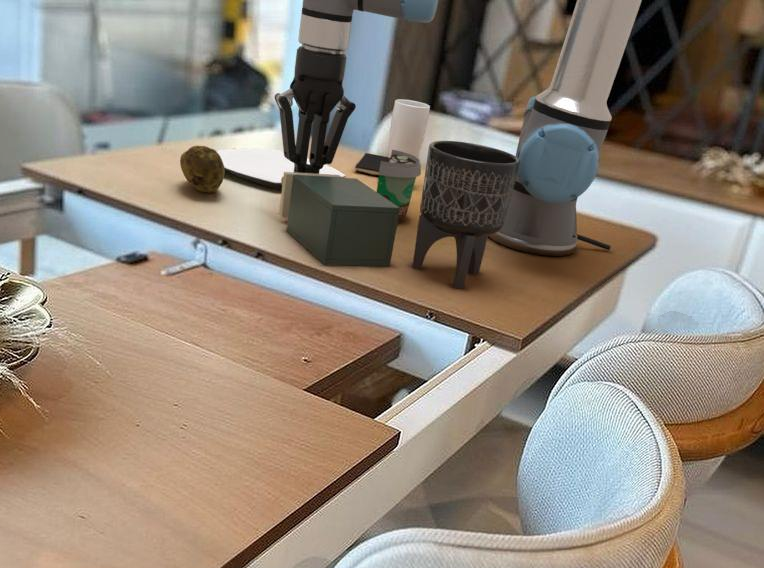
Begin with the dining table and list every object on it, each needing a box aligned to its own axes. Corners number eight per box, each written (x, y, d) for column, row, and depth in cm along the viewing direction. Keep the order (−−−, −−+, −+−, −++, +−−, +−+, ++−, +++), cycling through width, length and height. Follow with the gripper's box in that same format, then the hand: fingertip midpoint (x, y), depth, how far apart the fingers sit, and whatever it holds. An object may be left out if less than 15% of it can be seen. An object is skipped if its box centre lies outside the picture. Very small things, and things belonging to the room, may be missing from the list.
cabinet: (286, 231, 156) (293, 174, 152) (348, 233, 161) (356, 178, 156) (324, 265, 145) (332, 204, 140) (390, 266, 149) (400, 207, 145)
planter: (395, 275, 146) (417, 148, 137) (420, 255, 156) (443, 136, 147) (481, 297, 143) (510, 169, 134) (500, 275, 154) (529, 155, 145)
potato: (233, 188, 174) (237, 140, 170) (216, 205, 163) (221, 154, 159) (186, 179, 174) (189, 131, 170) (166, 196, 163) (169, 145, 159)
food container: (406, 230, 167) (417, 169, 162) (370, 223, 168) (380, 161, 163) (416, 214, 178) (427, 155, 173) (382, 207, 179) (392, 148, 173)
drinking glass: (422, 189, 195) (437, 108, 187) (394, 190, 191) (409, 106, 184) (401, 180, 199) (415, 99, 192) (374, 180, 196) (387, 98, 188)
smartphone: (400, 159, 210) (391, 173, 197) (399, 164, 211) (390, 179, 198) (365, 152, 211) (354, 166, 198) (364, 158, 211) (354, 172, 198)
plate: (360, 187, 189) (362, 177, 188) (273, 197, 173) (274, 186, 172) (274, 156, 200) (275, 145, 199) (184, 162, 184) (185, 151, 183)
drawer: (268, 206, 164) (273, 163, 160) (321, 208, 168) (327, 166, 164) (312, 244, 149) (318, 198, 146) (369, 246, 153) (376, 201, 150)
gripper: (351, 49, 157) (329, 202, 169) (273, 39, 151) (256, 198, 163) (371, 58, 151) (347, 215, 163) (291, 48, 146) (272, 212, 158)
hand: (301, 207), depth 163 cm, fingers closed
